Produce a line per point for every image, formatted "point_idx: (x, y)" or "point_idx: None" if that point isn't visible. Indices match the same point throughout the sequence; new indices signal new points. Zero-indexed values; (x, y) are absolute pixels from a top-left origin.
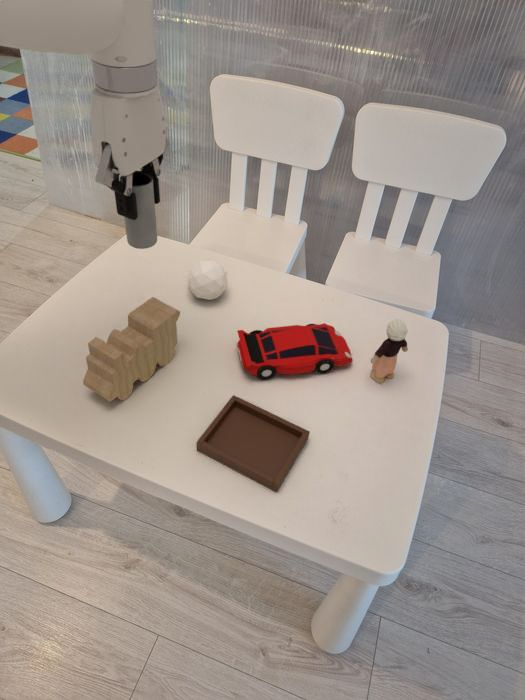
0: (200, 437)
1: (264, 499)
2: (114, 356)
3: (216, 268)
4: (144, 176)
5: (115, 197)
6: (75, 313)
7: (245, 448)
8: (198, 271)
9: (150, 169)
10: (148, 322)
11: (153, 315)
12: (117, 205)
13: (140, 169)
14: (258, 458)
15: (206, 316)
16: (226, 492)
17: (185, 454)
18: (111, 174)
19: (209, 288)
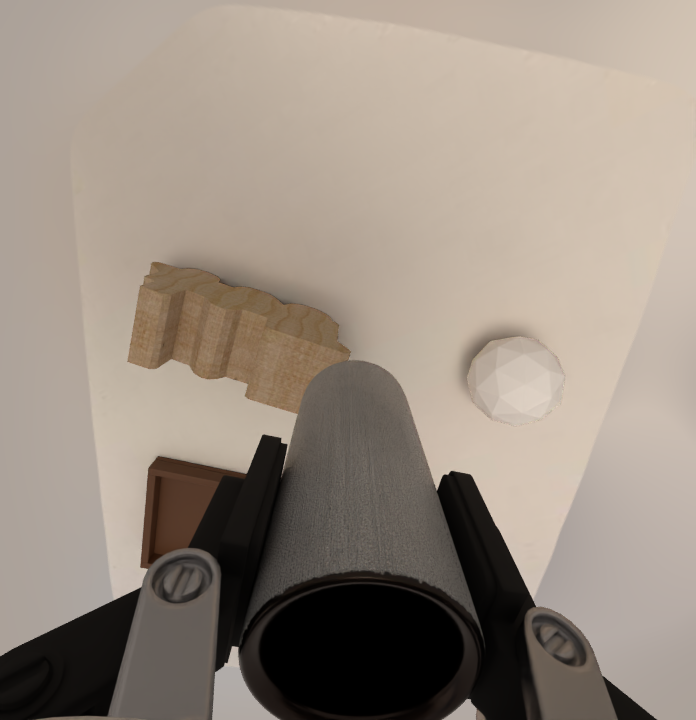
0: (158, 470)
1: (134, 542)
2: (135, 357)
3: (524, 417)
4: (449, 655)
5: (240, 493)
6: (362, 111)
7: (185, 513)
8: (507, 381)
9: (509, 716)
10: (258, 379)
11: (284, 380)
12: (214, 497)
13: (525, 627)
14: (178, 530)
15: (434, 382)
16: (120, 504)
17: (145, 445)
18: (115, 705)
19: (476, 400)
